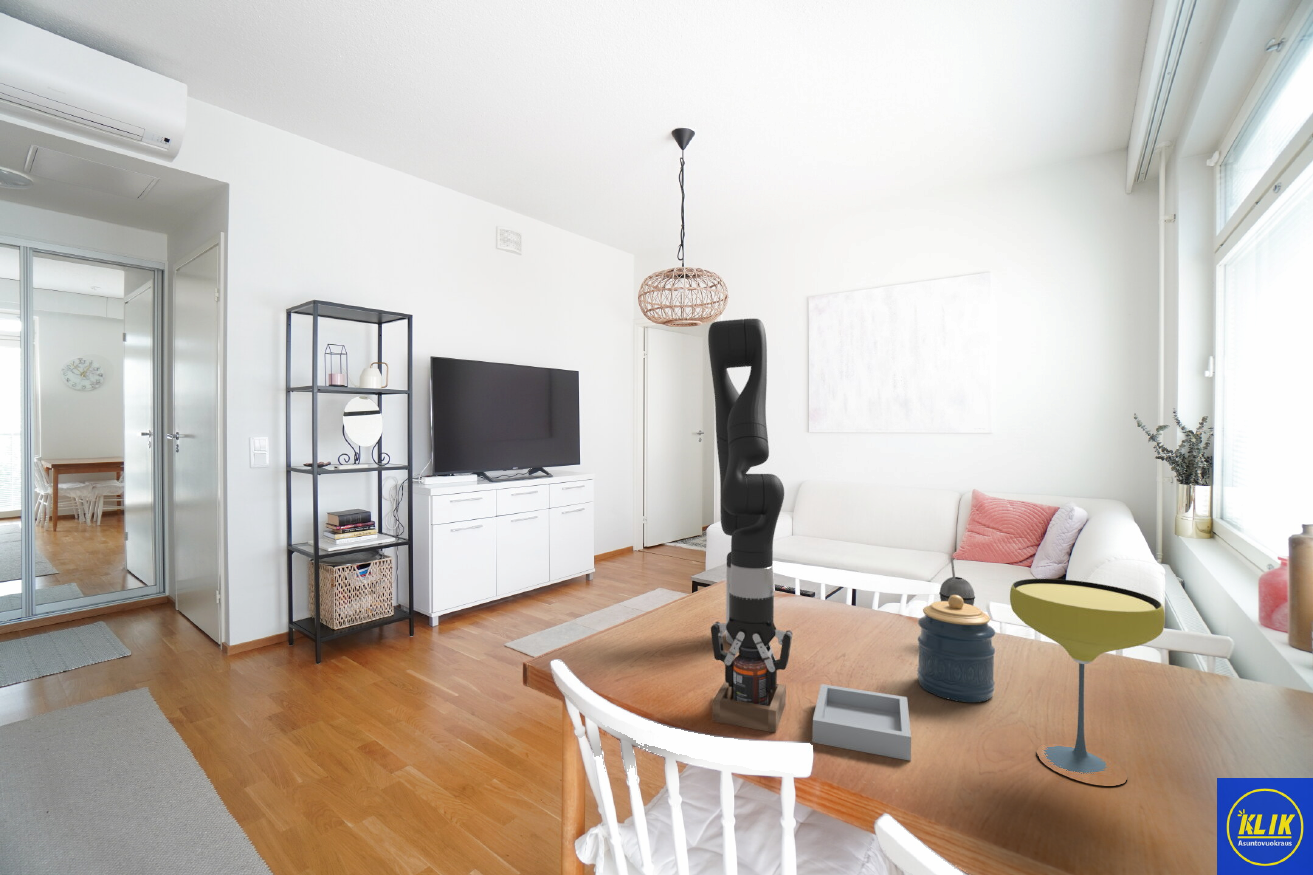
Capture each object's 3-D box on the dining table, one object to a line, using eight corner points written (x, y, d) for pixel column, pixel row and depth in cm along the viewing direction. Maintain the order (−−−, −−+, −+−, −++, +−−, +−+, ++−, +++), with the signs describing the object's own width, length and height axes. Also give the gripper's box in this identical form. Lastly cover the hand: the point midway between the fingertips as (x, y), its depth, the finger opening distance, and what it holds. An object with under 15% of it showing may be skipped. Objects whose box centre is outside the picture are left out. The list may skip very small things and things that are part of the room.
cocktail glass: (1197, 794, 79) (1200, 608, 79) (1086, 811, 75) (1089, 615, 75) (1075, 728, 96) (1077, 575, 96) (980, 739, 93) (982, 580, 92)
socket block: (727, 694, 107) (727, 675, 107) (785, 704, 104) (785, 684, 104) (712, 720, 98) (712, 699, 98) (775, 732, 94) (775, 710, 94)
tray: (820, 703, 104) (821, 683, 104) (906, 717, 99) (906, 697, 99) (812, 742, 91) (812, 719, 91) (910, 760, 86) (911, 736, 86)
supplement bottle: (770, 706, 103) (771, 642, 103) (765, 722, 97) (766, 654, 97) (736, 701, 105) (737, 637, 105) (729, 716, 99) (730, 649, 99)
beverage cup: (979, 653, 129) (980, 562, 129) (943, 650, 131) (944, 560, 131) (968, 641, 136) (969, 555, 136) (934, 639, 138) (935, 553, 138)
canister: (990, 681, 114) (992, 591, 114) (998, 710, 103) (999, 608, 102) (917, 669, 120) (918, 583, 120) (916, 695, 108) (917, 599, 108)
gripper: (797, 589, 102) (796, 686, 102) (716, 581, 107) (715, 673, 107) (791, 600, 95) (790, 704, 95) (704, 591, 100) (703, 690, 100)
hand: (750, 687), depth 101 cm, fingers closed on supplement bottle, 6 cm apart
